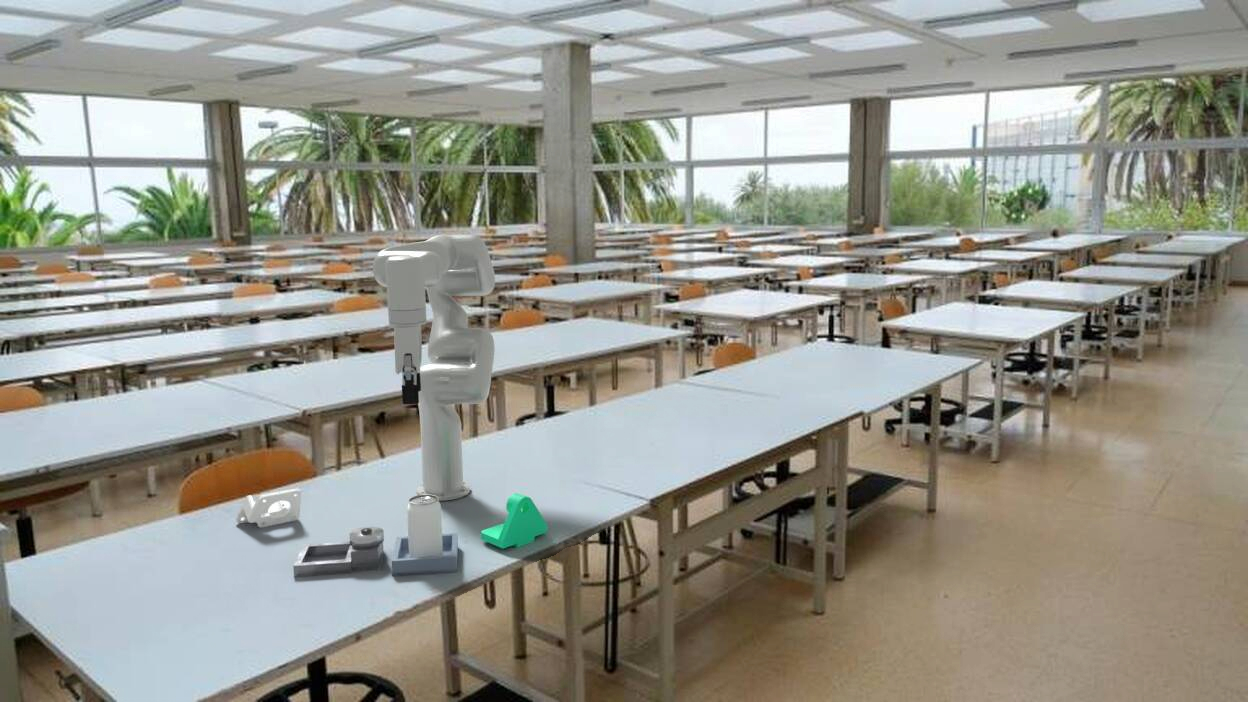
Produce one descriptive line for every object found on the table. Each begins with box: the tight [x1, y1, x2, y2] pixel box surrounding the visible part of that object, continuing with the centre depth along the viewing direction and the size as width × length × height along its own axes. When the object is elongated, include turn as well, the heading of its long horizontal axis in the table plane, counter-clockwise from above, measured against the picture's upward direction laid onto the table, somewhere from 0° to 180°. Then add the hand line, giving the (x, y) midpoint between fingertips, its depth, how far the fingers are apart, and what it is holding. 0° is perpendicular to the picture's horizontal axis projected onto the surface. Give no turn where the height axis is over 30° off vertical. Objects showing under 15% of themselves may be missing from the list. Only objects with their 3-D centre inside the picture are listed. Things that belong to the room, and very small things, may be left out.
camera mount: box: [480, 493, 548, 549], centre depth 183 cm, size 12×8×10 cm, turn 138°
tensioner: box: [292, 526, 385, 578], centre depth 171 cm, size 10×16×6 cm, turn 100°
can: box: [406, 495, 443, 558], centre depth 172 cm, size 6×6×12 cm
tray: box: [391, 532, 459, 577], centre depth 172 cm, size 12×12×3 cm
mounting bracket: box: [235, 487, 302, 528], centre depth 192 cm, size 12×6×11 cm, turn 125°
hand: (412, 397), depth 183 cm, fingers open, 9 cm apart
